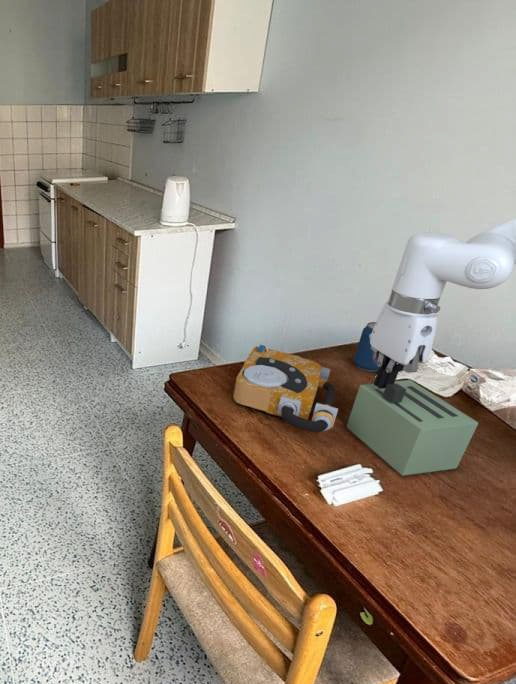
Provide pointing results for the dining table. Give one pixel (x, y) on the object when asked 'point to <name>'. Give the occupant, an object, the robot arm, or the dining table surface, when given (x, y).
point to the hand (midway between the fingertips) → (383, 386)
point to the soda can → (366, 351)
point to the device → (286, 388)
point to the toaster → (411, 429)
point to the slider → (394, 393)
